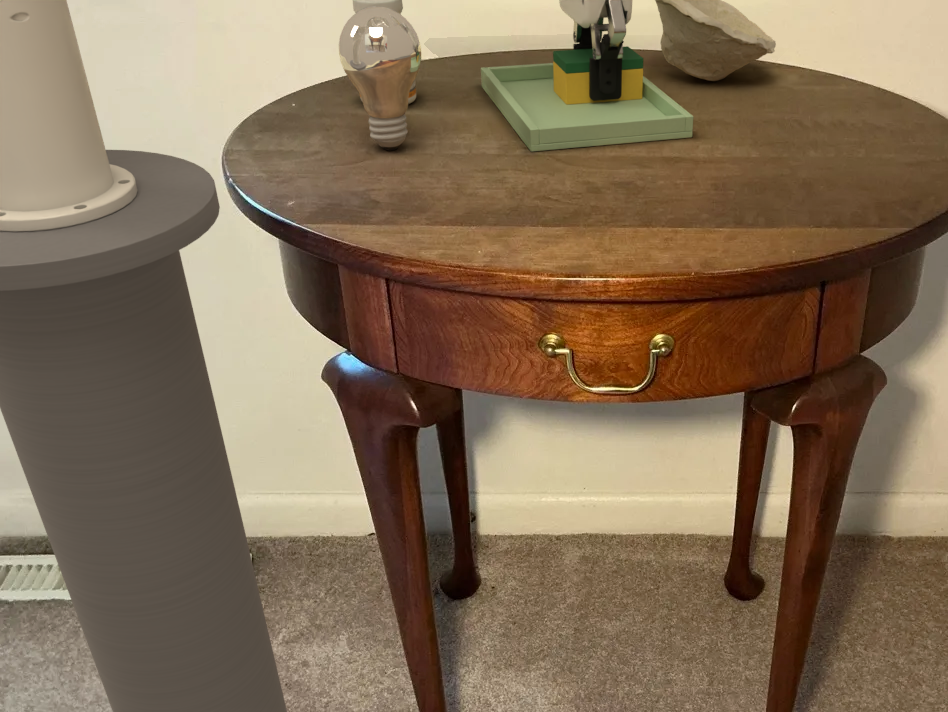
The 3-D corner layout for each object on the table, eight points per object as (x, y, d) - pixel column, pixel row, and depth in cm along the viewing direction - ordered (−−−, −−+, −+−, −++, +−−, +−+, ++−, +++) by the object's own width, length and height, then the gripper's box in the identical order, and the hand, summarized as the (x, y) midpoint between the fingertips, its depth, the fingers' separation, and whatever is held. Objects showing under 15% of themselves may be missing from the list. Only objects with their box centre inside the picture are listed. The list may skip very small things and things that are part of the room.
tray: (530, 151, 95) (530, 129, 94) (481, 86, 112) (480, 67, 110) (692, 137, 99) (693, 116, 97) (621, 76, 116) (621, 58, 114)
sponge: (566, 104, 105) (565, 63, 102) (553, 91, 109) (552, 50, 106) (642, 99, 107) (643, 58, 104) (627, 85, 111) (628, 46, 108)
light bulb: (445, 145, 96) (434, 5, 89) (392, 167, 91) (377, 20, 84) (388, 132, 99) (374, -5, 92) (334, 151, 94) (315, 9, 87)
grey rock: (781, 98, 110) (792, -5, 104) (647, 96, 109) (650, -7, 104) (763, 61, 122) (772, -33, 116) (643, 59, 122) (646, -35, 116)
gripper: (536, -120, 103) (541, 72, 113) (584, -97, 89) (584, 118, 100) (610, -122, 105) (607, 67, 115) (668, -99, 91) (659, 112, 102)
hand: (597, 89), depth 107 cm, fingers closed on sponge, 5 cm apart
